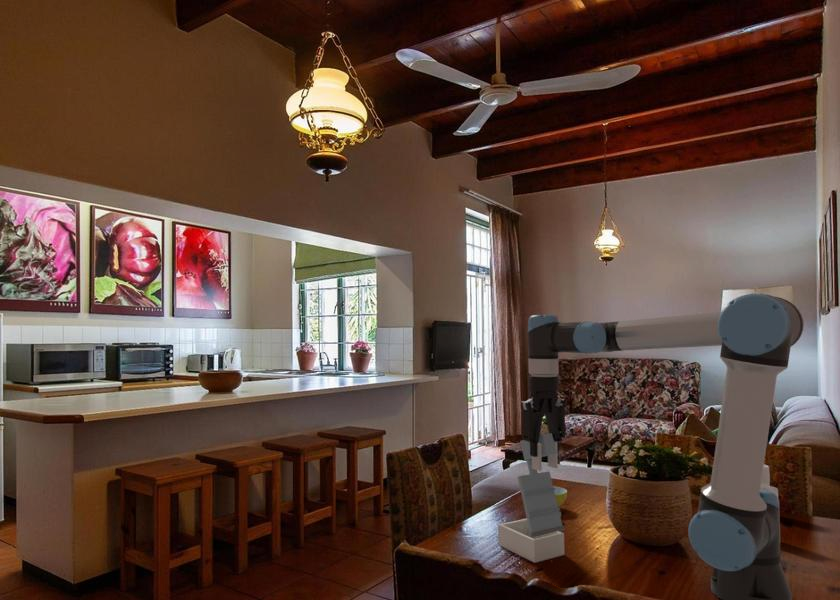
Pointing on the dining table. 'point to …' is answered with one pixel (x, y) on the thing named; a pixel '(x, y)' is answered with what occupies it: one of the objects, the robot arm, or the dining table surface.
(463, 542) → the dining table surface
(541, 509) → the grey stepped piece
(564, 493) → the bowl
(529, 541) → the tub
